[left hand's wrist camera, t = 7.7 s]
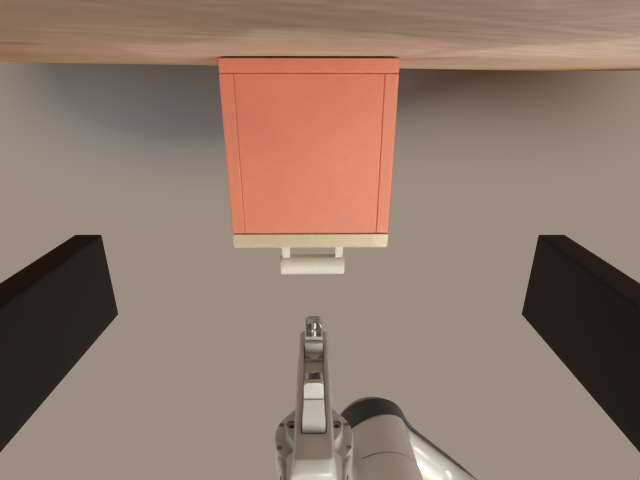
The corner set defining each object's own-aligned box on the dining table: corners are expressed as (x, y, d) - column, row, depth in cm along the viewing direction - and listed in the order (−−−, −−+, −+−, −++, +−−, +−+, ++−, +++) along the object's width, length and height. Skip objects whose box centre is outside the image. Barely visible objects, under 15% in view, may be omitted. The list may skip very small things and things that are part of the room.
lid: (361, 176, 38) (358, 259, 41) (262, 176, 38) (267, 259, 41) (388, 233, 24) (380, 351, 27) (232, 234, 24) (242, 353, 27)
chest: (367, 65, 33) (362, 178, 37) (255, 65, 33) (261, 178, 37) (400, 57, 20) (388, 233, 24) (217, 57, 20) (232, 233, 24)
